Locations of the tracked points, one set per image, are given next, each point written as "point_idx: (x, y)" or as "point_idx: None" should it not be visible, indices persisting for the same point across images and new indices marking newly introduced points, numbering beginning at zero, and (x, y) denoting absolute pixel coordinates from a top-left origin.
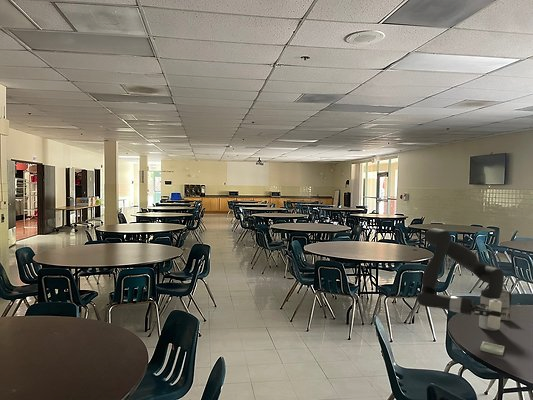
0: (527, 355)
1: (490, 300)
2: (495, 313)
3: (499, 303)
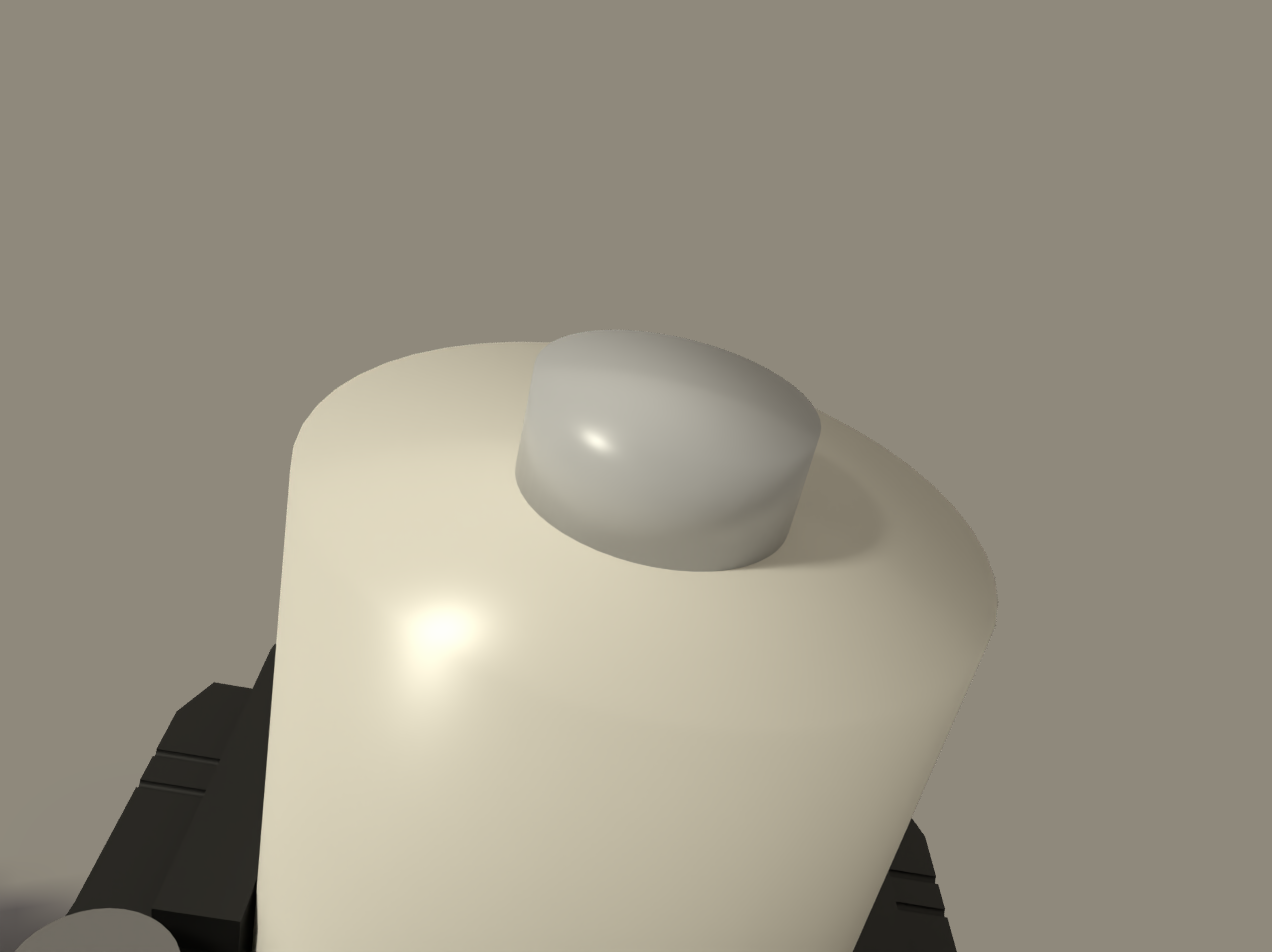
0: None
1: (671, 671)
2: (936, 933)
3: (840, 450)
